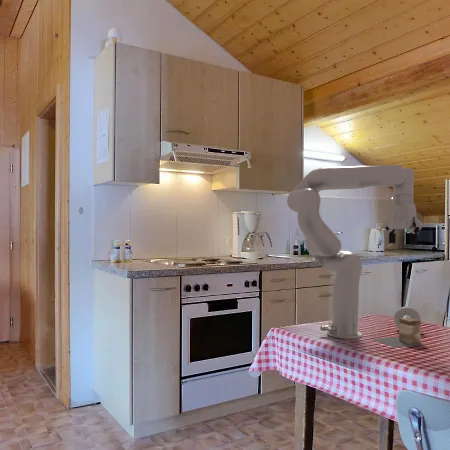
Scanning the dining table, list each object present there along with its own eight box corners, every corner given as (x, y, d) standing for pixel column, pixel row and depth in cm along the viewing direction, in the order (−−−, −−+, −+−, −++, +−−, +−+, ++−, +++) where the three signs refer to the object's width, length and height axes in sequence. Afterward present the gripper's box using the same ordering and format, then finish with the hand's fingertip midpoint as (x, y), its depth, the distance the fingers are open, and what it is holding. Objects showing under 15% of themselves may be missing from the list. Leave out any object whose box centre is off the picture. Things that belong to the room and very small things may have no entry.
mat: (394, 348, 153) (394, 347, 153) (371, 339, 164) (371, 338, 164) (426, 346, 157) (426, 344, 157) (402, 337, 169) (402, 336, 169)
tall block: (408, 344, 158) (409, 321, 158) (399, 340, 162) (399, 318, 163) (420, 343, 159) (420, 320, 159) (410, 339, 164) (410, 317, 164)
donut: (419, 332, 179) (420, 306, 179) (420, 333, 176) (421, 308, 176) (393, 329, 182) (393, 305, 182) (393, 331, 179) (394, 306, 179)
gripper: (378, 200, 182) (378, 243, 182) (416, 198, 167) (415, 244, 167) (391, 201, 186) (390, 242, 186) (429, 199, 171) (428, 244, 171)
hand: (402, 243), depth 176 cm, fingers open, 9 cm apart
